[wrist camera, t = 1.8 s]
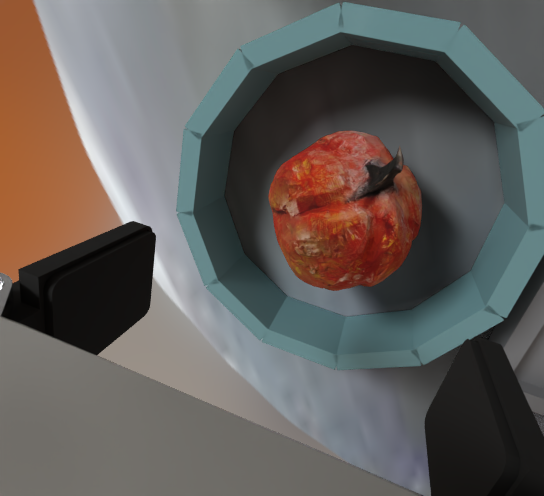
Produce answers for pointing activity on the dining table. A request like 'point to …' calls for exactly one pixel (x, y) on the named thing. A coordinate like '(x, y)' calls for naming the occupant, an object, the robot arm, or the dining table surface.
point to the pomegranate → (345, 211)
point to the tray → (526, 339)
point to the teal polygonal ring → (382, 326)
